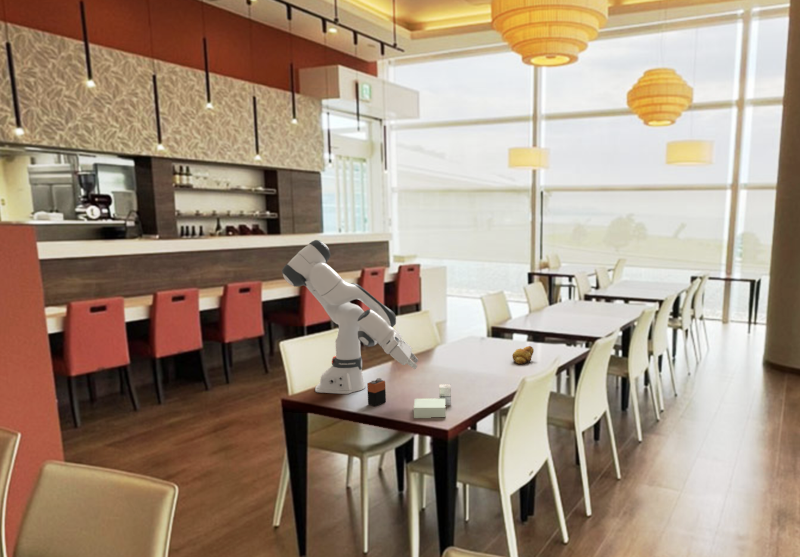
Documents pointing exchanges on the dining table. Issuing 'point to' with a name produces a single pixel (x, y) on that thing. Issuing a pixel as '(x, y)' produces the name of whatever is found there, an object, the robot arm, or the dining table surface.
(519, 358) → the bread roll
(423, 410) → the stand
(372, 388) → the battery
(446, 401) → the block
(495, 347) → the dining table surface
